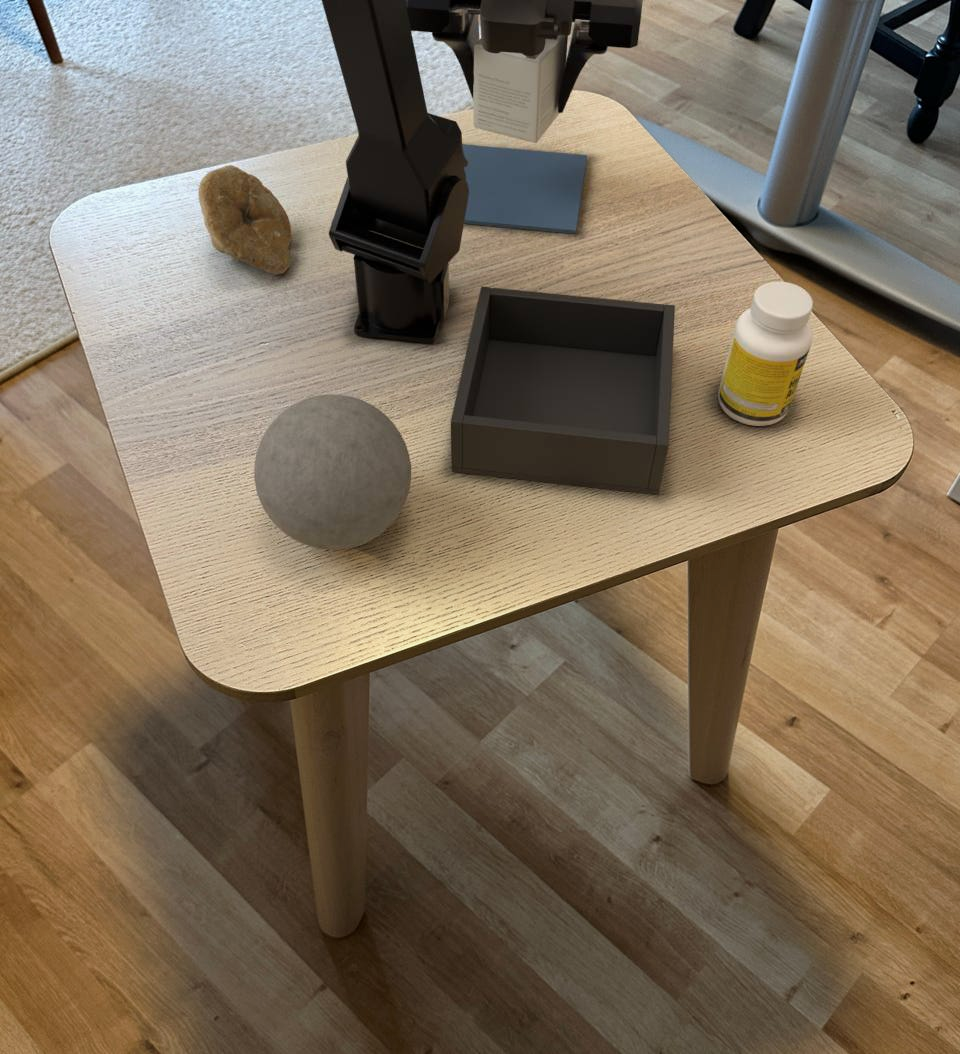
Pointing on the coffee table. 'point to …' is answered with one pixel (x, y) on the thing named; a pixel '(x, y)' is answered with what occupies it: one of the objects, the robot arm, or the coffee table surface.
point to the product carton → (518, 90)
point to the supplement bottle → (767, 355)
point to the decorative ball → (332, 472)
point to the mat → (523, 188)
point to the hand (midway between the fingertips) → (518, 107)
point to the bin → (565, 391)
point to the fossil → (245, 219)
